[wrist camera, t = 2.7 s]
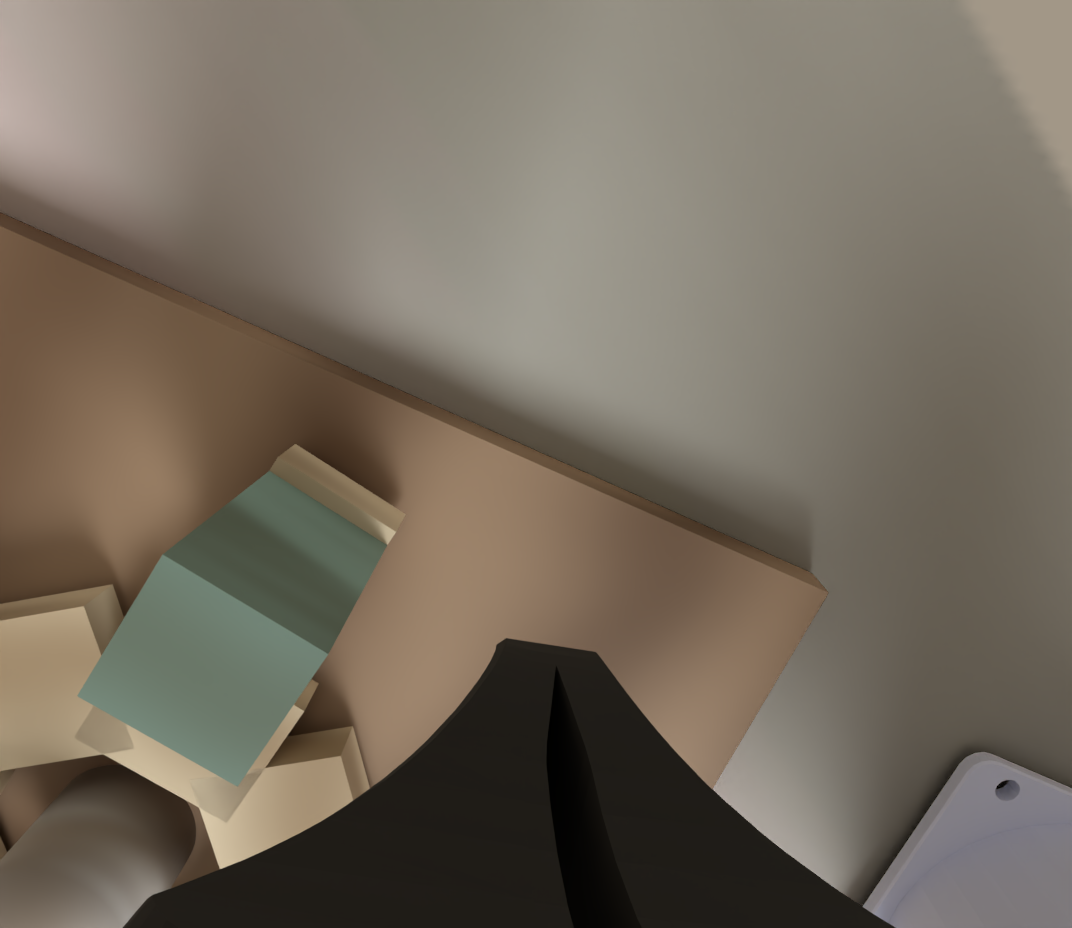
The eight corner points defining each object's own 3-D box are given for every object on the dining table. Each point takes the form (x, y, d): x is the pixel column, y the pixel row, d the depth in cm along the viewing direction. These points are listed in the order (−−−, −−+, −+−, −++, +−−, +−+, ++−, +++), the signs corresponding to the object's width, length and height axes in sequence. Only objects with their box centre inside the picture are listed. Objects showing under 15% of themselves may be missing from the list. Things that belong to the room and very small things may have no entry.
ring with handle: (221, 1111, 19) (110, 1408, 14) (-223, 888, 17) (-520, 1133, 12) (591, 633, 16) (613, 802, 11) (85, 309, 14) (-154, 337, 9)
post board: (811, 573, 17) (893, 668, 13) (413, 1257, 22) (384, 1474, 18) (-249, 102, 15) (-536, 45, 11) (-414, 983, 20) (-649, 1161, 16)
